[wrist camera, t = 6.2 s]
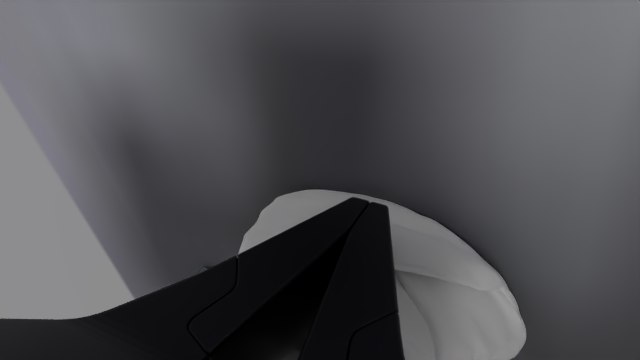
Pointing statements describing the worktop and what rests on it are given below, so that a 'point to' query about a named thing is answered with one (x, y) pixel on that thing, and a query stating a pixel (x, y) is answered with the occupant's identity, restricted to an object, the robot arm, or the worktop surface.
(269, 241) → the robot arm
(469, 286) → the whipped cream
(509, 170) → the worktop surface
